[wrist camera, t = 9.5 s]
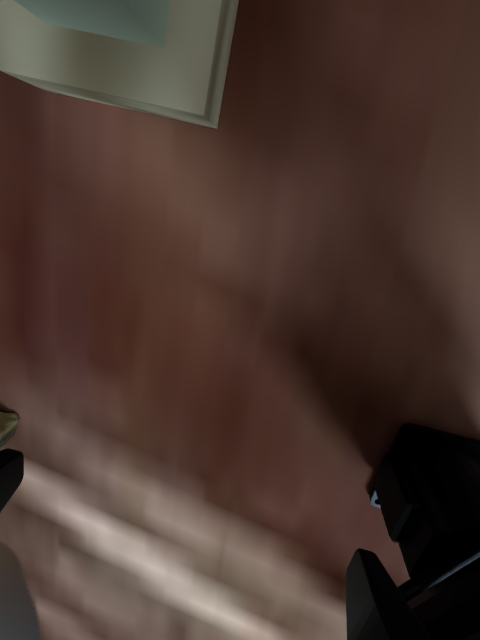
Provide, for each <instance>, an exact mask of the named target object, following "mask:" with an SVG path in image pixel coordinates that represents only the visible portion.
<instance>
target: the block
mask: <svg viewBox="0 0 480 640" xmlns="http://www.w3.org/2000/svg"><path fill="white" fill-rule="evenodd" d="M14 1H15V2H17V3H18V4H20V5H21V6H22V7H24V8H25V9H27V10H28V11H29V12H31V13H32V14H33V15H35V16H36V17H38V18H39V19H40V20H42V21H43V22H44V23H47V24H52V25H56V26H61V27H66V28H71V29H75V30H80V31H85V32H89V33H94V34H99V35H103V36H108V37H113V38H117V39H122V40H127V41H132V42H136V43H141V44H146V45H150V46H155V47H160V48H164V49H165V42H166V33H167V24H168V15H169V6H170V0H14Z"/></svg>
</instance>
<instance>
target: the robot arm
mask: <svg viewBox="0 0 480 640" xmlns="http://www.w3.org/2000/svg"><path fill="white" fill-rule="evenodd" d="M409 431H413V432H412V433H410V434H407V432H409ZM23 475H24V456H23V453H22V452H20V451H17V450H13V449H9V448H8V449H4V450H1V451H0V513H1V511H2V510H3V508H4V507H5V505H6V504H7V502H8V501H9V500H10V498H11V497H12V495H13V494H14V492H15V491H16V489H17V488H18V487H19V485H20V483H21V482H22V479H23ZM373 484H374V487H373V489H372V491H371V493H370V496H369V497H370V501H371V504H372V505H373V506H375V507H377V508H381V511H382V514H383V517H384V520H385V524H386V527H387V530H388V534H389V536H390V538H391V540H392V541H393V542H396V543H399V546H400V549H401V552H402V555H403V559H404V562H405V565H406V568H407V571H408V574H409V577H410V578H411V579H409V580H408V581H406V582H405V583H403V584H402V585H400V586H399V587H397V586H396V585H395V583H394V582H393V580H392V578H391V577H390V575H389V574H388V572H387V571H386V569H385V568H384V566H383V565H382V563H381V562H380V560H379V558H378V557H377V555H376V554H375V553H373V552H371V551H368V550H364V549H361V548H359V549H357V550H356V551H355V553H354V555H353V557H352V559H351V561H350V564H349V566H348V568H347V571H346V577H345V582H346V615H347V640H480V441H478V440H474V439H470V438H466V437H462V436H458V435H454V434H450V433H446V432H442V431H439V430H435V429H431V428H427V427H423V426H419V425H415V424H410V423H408V424H405V425H403V426H402V427H401V428H400V430H399V433H398V435H397V437H396V439H395V441H394V443H393V446H392V448H391V450H390V451H389V452H388V453H386V455H385V457H384V459H383V461H382V464H381V466H380V468H379V470H378V472H377V474H376V477H375V479H374V481H373ZM376 499H378V500H376Z"/></svg>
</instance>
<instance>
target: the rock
mask: <svg viewBox="0 0 480 640" xmlns="http://www.w3.org/2000/svg"><path fill="white" fill-rule="evenodd" d="M18 420H19V416H18V415H17V414H16V413H3V412H1V411H0V450H1V449H2V448H3V447H4V446H5V445H6V444H7V442H8V441H9V440H10V439H11V438H12V437H13V435H14V433H15V430H16V427H17V422H18Z"/></svg>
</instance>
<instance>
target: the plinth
mask: <svg viewBox="0 0 480 640" xmlns="http://www.w3.org/2000/svg"><path fill="white" fill-rule="evenodd" d="M238 3H239V0H170V6H169V15H168V24H167V33H166V42H165V49H164V48H160V47H155V46H150V45H146V44H141V43H136V42H132V41H127V40H122V39H117V38H113V37H108V36H103V35H99V34H94V33H89V32H85V31H80V30H75V29H71V28H66V27H61V26H56V25H52V24H47V23H44V22H43V21H42V20H40V19H39V18H38V17H36V16H35V15H33V14H32V13H31V12H29V11H28V10H27V9H25V8H24V7H22V6H21V5H20V4H18V3H17V2H15V1H14V0H0V71H2V72H4V73H7V74H9V75H11V76H13V77H16V78H18V79H20V80H22V81H25V82H27V83H29V84H32V85H34V86H36V87H38V88H41V89H43V90H45V91H49V92H54V93H58V94H63V95H67V96H72V97H76V98H81V99H85V100H90V101H94V102H99V103H103V104H108V105H112V106H117V107H121V108H126V109H130V110H135V111H139V112H144V113H148V114H152V115H157V116H161V117H166V118H170V119H175V120H179V121H184V122H188V123H193V124H197V125H202V126H206V127H211V128H215V129H217V127H218V122H219V116H220V110H221V104H222V98H223V92H224V86H225V80H226V74H227V68H228V62H229V57H230V51H231V45H232V39H233V33H234V27H235V21H236V15H237V9H238Z"/></svg>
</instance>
